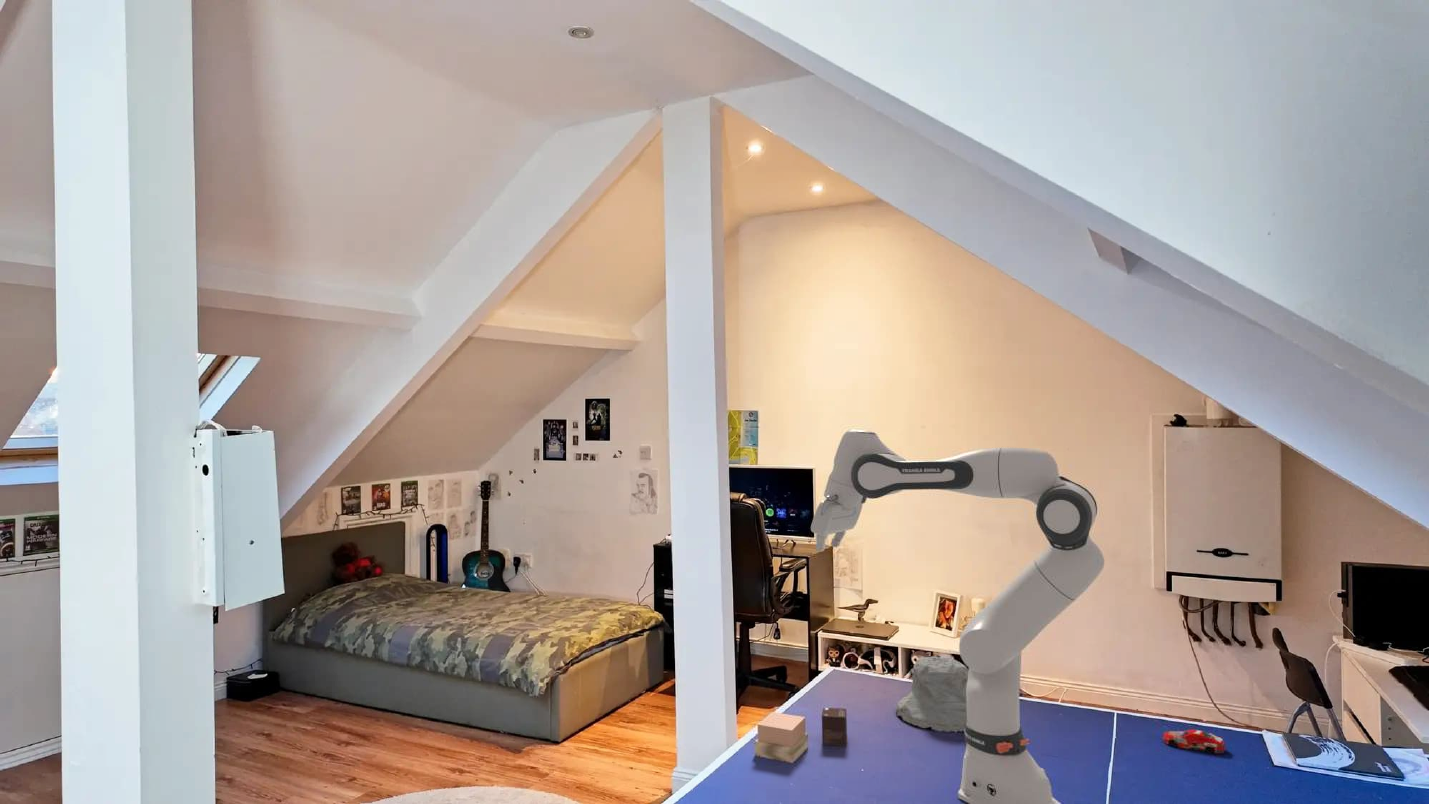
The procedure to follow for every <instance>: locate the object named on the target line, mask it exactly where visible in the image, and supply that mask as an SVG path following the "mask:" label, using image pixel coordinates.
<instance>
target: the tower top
mask: <svg viewBox="0 0 1429 804" xmlns="http://www.w3.org/2000/svg"><path fill="white" fill-rule="evenodd" d="M805 733H807V732H806V717H805V716H799V715H793V714H786V713H782V712H781V713H780V712H776V711H775V712H773V711H771V712H770V713H769V714H767V716H766V717H765V718H763V719H762V720H761V721H760V722H759V723H757V739H758V741H761V742H767V743H773V744H778V745H784V746H789V747H793V746H794V745H795V744H796V743H797V742H798V741H799V740H800V739H801V738H802V737H803V735H804V734H805Z"/></svg>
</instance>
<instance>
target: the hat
mask: <svg viewBox="0 0 1429 804" xmlns="http://www.w3.org/2000/svg"><path fill="white" fill-rule="evenodd" d="M912 670H913V671H912V676H911V677H912V682H911V683H912V684H911V691H910V692H909V693H908V695H906V696H904V697H902V698H901V699H900V700H898V701H897V704H896V705H895V713H896V715H897V716H899V717H901V719H902V721H904V722H906V723H908V724H911V725H913V726H917V727H918V728H921V729H927V728H931V730H932V731H933V730H934V731H935V732H936V731H938V732H946V733H948V732H949V733H951V732H954V733H958V732H964V729H965V723H966V721H967V703H966V686H967V680H968V672H969V668H967V666H966V665H965V664H963V663H961V662H960V661H958V660H956V659H953V658H949V657H940V656H929V657H928V656H921V657H920V658H918V659H916V661H915V663H914V665H913V669H912Z"/></svg>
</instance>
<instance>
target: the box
mask: <svg viewBox="0 0 1429 804" xmlns="http://www.w3.org/2000/svg"><path fill="white" fill-rule="evenodd" d="M821 713H822V714H821V737H822V738H821V739H822V740H821V741H822V745H824V746H825V745H827V746H840V747H842V746H844V747H845V746H847V743H848V741H847V740H848V731H847V730H848V724H847V723H848V722H847V721H848V720H847V708H842V707H841V708H839V707H837V708H835V707H823V709H822V712H821Z"/></svg>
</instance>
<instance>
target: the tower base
mask: <svg viewBox="0 0 1429 804" xmlns="http://www.w3.org/2000/svg"><path fill="white" fill-rule="evenodd" d="M808 748H809V732H806V733H805V734H804V735H803V737H802V738H801V739H800V740H799V741H798V742H797V743H796V744H795V745H794V746H793V747H789V746H784V745H778V744H773V743H767V742H761V741H758V738H757V739H755V740H754V756H755V757H759V756H760V758H764V757H765V759H769V760H774V759H776V760H775V761H780V762H784V761H786V763H789V762H790V763H791V764H794V763H795V762H794V761H797V759H798V758H799V757H801V755H802V754H803V753H804V752H805V751H806V750H807V749H808ZM793 762H794V763H793Z"/></svg>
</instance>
